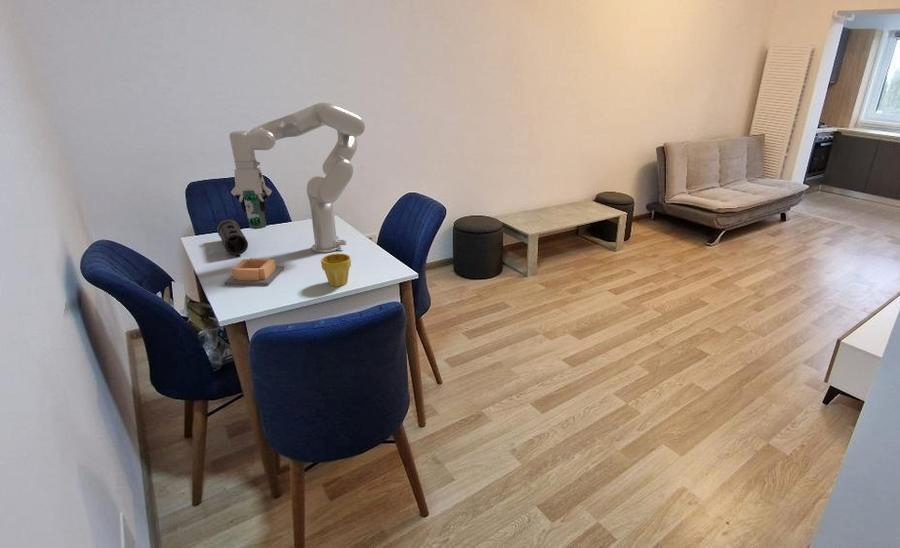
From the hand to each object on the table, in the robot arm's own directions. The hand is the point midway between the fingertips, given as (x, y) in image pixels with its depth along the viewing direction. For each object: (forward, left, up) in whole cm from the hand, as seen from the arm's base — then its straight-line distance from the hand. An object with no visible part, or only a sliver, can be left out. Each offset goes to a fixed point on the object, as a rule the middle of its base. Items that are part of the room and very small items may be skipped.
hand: (255, 210), depth 181 cm
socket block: (-4, +16, -22) cm, 27 cm away
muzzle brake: (+20, -17, -22) cm, 34 cm away
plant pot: (-37, +21, -22) cm, 48 cm away
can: (0, 0, -7) cm, 7 cm away
